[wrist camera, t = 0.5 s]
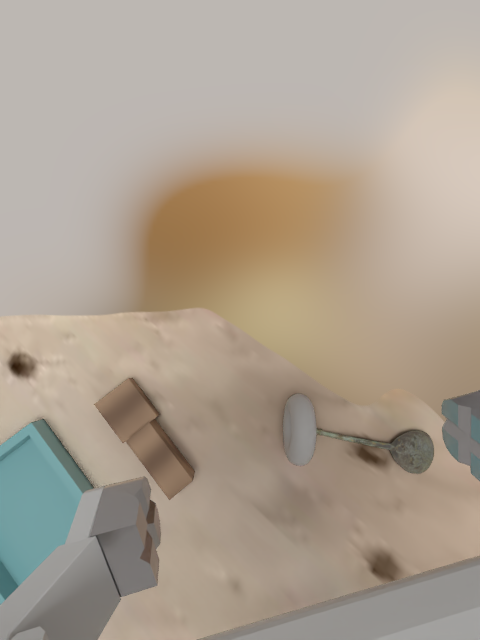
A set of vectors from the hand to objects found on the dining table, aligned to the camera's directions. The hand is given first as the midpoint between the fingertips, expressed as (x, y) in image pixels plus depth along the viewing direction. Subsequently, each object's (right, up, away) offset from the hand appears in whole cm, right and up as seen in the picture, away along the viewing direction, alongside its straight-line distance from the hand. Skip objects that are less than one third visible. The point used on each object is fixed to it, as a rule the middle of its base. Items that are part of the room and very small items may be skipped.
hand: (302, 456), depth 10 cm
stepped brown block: (-15, -14, +47) cm, 52 cm away
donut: (+6, -13, +49) cm, 51 cm away
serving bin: (-30, -26, +44) cm, 59 cm away
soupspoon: (+19, -16, +50) cm, 56 cm away
